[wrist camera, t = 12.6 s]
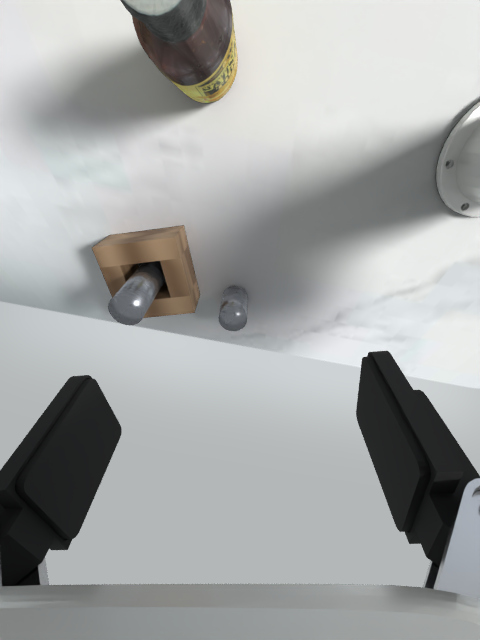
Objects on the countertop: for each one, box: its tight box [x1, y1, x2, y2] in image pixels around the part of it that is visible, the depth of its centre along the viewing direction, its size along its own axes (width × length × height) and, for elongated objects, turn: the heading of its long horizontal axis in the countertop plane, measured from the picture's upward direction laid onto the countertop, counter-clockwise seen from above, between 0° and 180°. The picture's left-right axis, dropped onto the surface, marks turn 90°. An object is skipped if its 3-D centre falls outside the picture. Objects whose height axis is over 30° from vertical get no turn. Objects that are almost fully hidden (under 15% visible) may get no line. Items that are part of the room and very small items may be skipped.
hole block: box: [92, 225, 200, 318], centre depth 38 cm, size 10×10×5 cm
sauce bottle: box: [121, 0, 238, 103], centre depth 20 cm, size 7×6×20 cm
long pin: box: [108, 261, 165, 325], centre depth 35 cm, size 4×4×12 cm
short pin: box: [219, 286, 247, 331], centre depth 40 cm, size 4×4×6 cm
